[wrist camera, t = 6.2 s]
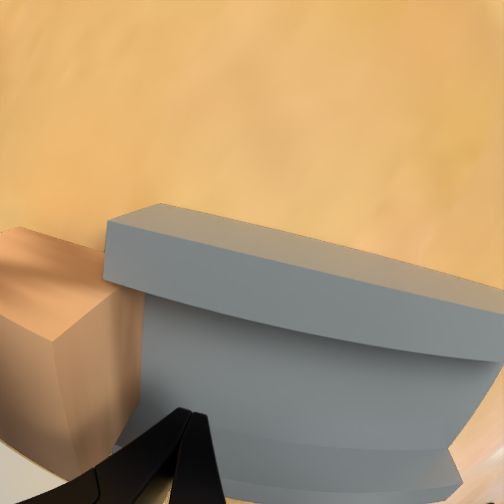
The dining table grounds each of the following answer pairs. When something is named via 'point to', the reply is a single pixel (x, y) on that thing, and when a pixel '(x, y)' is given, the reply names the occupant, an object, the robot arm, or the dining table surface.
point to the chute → (305, 357)
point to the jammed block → (65, 352)
